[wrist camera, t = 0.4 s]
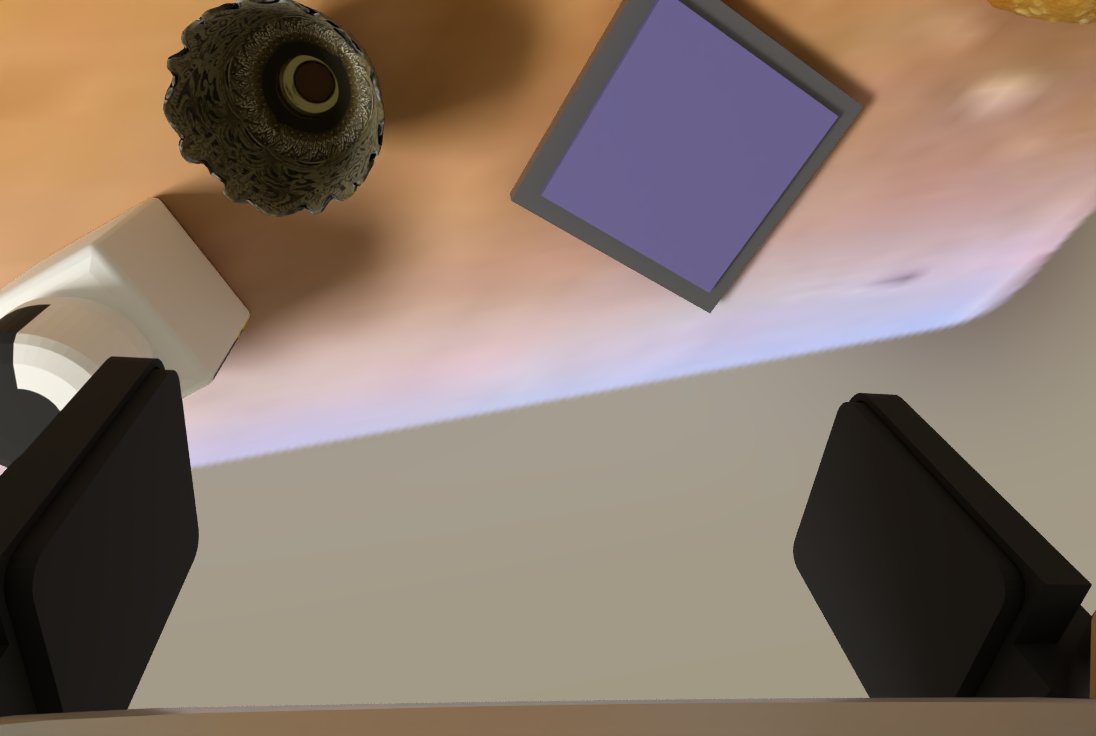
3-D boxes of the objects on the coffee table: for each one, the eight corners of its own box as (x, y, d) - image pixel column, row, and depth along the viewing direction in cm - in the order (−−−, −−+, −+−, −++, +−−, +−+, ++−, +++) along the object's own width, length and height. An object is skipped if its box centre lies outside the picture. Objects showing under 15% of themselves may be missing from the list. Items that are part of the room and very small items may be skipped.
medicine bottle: (140, 376, 39) (23, 528, 29) (35, 263, 36) (-139, 387, 26) (254, 314, 38) (177, 448, 28) (158, 192, 35) (28, 291, 25)
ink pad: (650, -47, 33) (659, -48, 31) (851, 102, 36) (868, 108, 35) (509, 193, 37) (511, 203, 35) (703, 304, 41) (712, 317, 39)
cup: (434, 97, 34) (426, 132, 27) (316, 198, 36) (281, 256, 29) (312, -52, 31) (269, -56, 24) (189, 66, 33) (115, 95, 26)
